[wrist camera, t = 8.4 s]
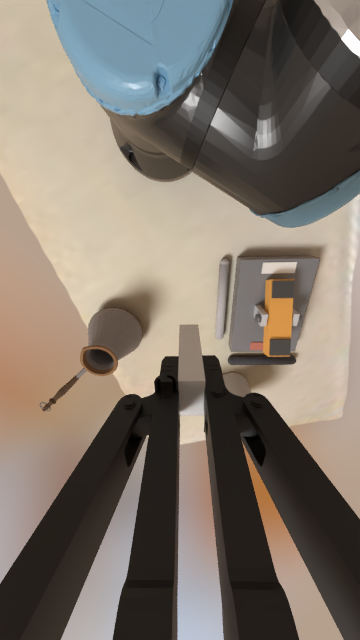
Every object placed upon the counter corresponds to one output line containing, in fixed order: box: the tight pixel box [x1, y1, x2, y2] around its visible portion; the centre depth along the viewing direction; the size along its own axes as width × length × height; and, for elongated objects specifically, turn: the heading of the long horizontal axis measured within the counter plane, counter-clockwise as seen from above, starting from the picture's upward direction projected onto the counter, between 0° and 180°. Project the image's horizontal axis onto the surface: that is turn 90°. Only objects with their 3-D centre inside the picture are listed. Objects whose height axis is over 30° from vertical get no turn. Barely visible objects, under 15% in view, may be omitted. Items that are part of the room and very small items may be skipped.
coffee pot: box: [40, 308, 142, 411], centre depth 42 cm, size 21×12×15 cm, turn 131°
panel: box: [229, 256, 320, 352], centre depth 41 cm, size 20×14×8 cm
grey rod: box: [215, 259, 229, 340], centre depth 43 cm, size 18×2×2 cm, turn 1°
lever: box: [263, 279, 294, 357], centre depth 38 cm, size 14×4×3 cm, turn 1°
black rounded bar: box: [228, 356, 296, 365], centre depth 50 cm, size 2×16×2 cm, turn 91°
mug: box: [223, 372, 251, 397], centre depth 50 cm, size 12×8×11 cm
